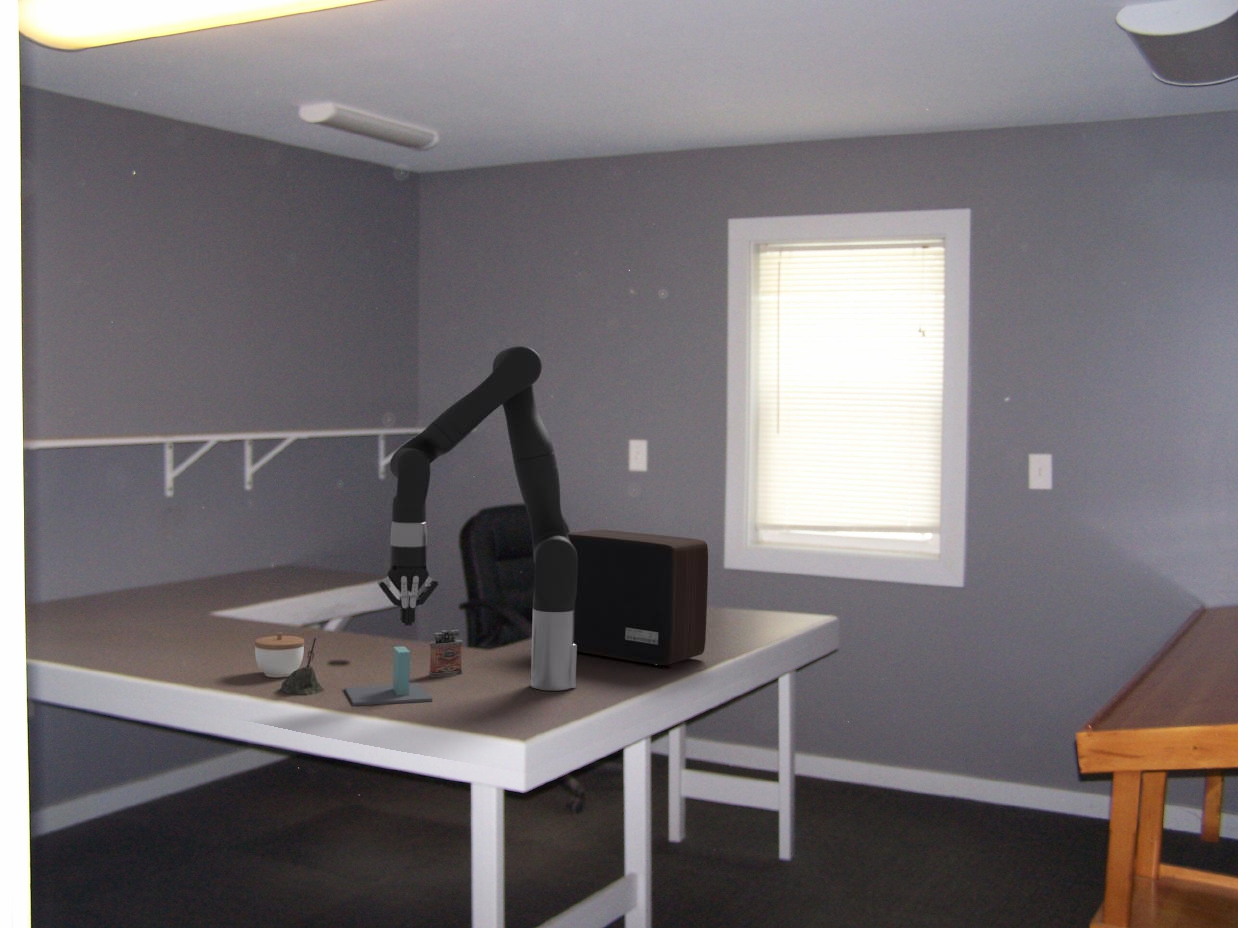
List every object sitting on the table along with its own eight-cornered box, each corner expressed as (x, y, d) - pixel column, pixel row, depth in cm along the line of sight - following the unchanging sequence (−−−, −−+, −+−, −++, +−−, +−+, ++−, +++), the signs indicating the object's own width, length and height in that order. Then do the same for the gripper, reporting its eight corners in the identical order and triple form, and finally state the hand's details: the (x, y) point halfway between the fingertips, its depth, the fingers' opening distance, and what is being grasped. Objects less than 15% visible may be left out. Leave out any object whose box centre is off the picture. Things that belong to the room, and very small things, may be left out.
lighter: (433, 677, 274) (434, 633, 274) (426, 674, 277) (427, 630, 276) (464, 673, 279) (465, 630, 278) (457, 670, 282) (458, 628, 281)
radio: (708, 659, 303) (712, 539, 302) (671, 670, 289) (675, 544, 287) (590, 640, 324) (593, 527, 322) (549, 650, 309) (552, 532, 307)
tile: (404, 688, 261) (404, 646, 260) (409, 694, 255) (410, 651, 255) (392, 688, 260) (393, 646, 260) (397, 695, 254) (398, 652, 254)
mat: (419, 685, 266) (419, 683, 266) (432, 701, 253) (432, 698, 253) (344, 689, 260) (344, 686, 260) (353, 705, 247) (353, 702, 247)
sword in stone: (269, 690, 258) (270, 635, 258) (298, 684, 265) (299, 630, 264) (302, 698, 253) (302, 641, 252) (330, 691, 260) (331, 636, 259)
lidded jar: (285, 667, 280) (285, 626, 280) (313, 674, 274) (314, 633, 273) (244, 674, 272) (245, 632, 272) (272, 682, 265) (273, 639, 265)
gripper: (379, 545, 250) (378, 629, 251) (443, 544, 255) (442, 626, 256) (374, 541, 257) (372, 623, 258) (436, 540, 262) (434, 620, 263)
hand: (407, 624), depth 257 cm, fingers closed
